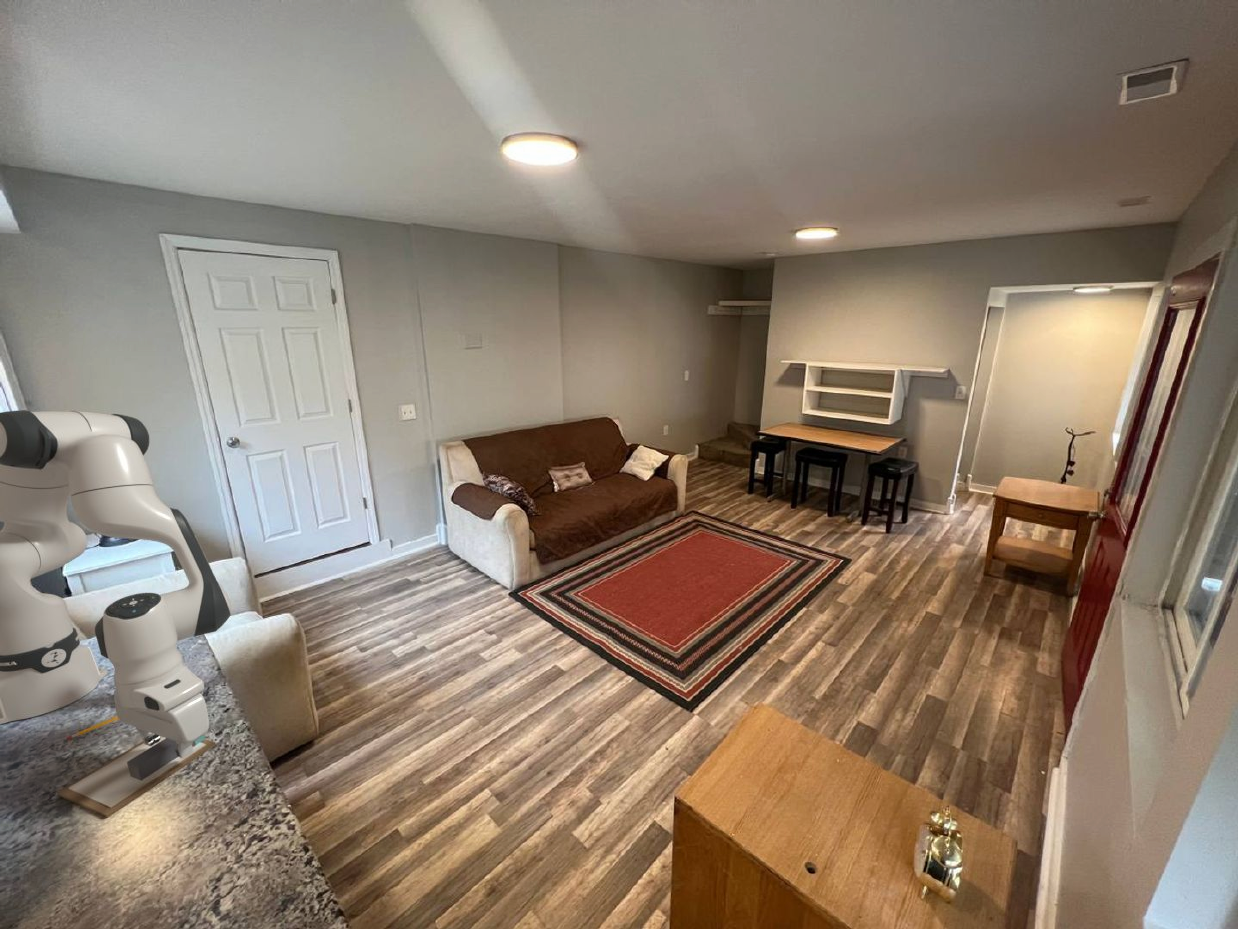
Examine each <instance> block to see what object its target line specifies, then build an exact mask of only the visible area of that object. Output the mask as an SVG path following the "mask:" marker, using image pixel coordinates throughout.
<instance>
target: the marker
mask: <svg viewBox="0 0 1238 929" xmlns="http://www.w3.org/2000/svg"><path fill="white" fill-rule="evenodd" d="M205 735H206V734H204V735H203V736H201V737H200V738H198V739H197V740H195V741H193V743H192V747H194V746H196V745H197V744H199V743H200V742H202V741H203V740H205V739H206V736H205ZM178 746H179V744H177V743H176V741H173V740H170V739H167V738H166V739H164V740H162V741H161V742H159V743H157V744H156V745H154V746H152V747H151V748H149V749H148V750H146V751H144V752H143V753H141V754H139V755H138V756H136V757H134V758H133V759H131V760H129V761H128V762H127V764H128V768H129V772H130V776H131V777H133V778H136V779H138V780H141V781H142V780H143V779H145V778H146V777H148V776H149V775H151V774H152V773H154V772H156V771H157V770H159V769H160V768H162V767H163V766H165V765H166V764H168V763H169V762H171V761H172V760H174V759H176V758H177V757H178V756H177V753H176V750H175V749H177V748H178Z"/></svg>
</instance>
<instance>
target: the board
mask: <svg viewBox="0 0 1238 929" xmlns="http://www.w3.org/2000/svg"><path fill="white" fill-rule="evenodd" d="M164 739H166V738H165V737H162V736H160V741H159V742H161V741H162V740H164ZM159 742H157V743H159ZM157 743H155V744H154V745H156V744H157ZM154 745H152V746H154ZM152 746H149V745H145V744H144V741H143V740H142V741H141V742H140V743H138V744H136V745H135V746H133V747H130V749H128V750H126V751H124V752H122V753H121V754H119V755H117V756H116V757H114V758H113V759H111V760H109V761H108V762H106V763H104V764H102V765H100V766H99V767H97V768H96V769H94V770H92V771H90V772H89V773H87V774H85V775H84V776H81V777H80V778H79V779H76V780H75V781H74V782H73V781H72V783H70V784H68V785H66V786H65V787H63V788H62V789H60V790H58V791H56V793H57V795H58V796H59V797H61V798H64V799H66V800H68V801H71V802H72V803H74V804H76V805H79V806H80V807H83V808H84V809H86V810H89V811H91V812H94V813H95V814H98V815H100V816H101V817H104V818H106V819H108V818H109V817H112V815H114V814H115V813H117V812H118V811H120V810H121V809H123V808H124V807H126V806H127V805H129V804H131V802H133V801H135V800H136V799H138V798H140V796H142V795H144V794H145V793H147V792H148V791H150V790H151V789H152V788H154V787H156V786H157V785H158V784H160V783H162V782H163V781H165V780H166V779H167V778H169V777H170V776H172V775H173V774H175V773H176V772H178V771H179V770H181V769H182V768H184V767H186V766H187V765H188V764H190V763H191V762H193V761H194V760H196V759H197V758H199V757H200V756H202V755H203V754H205V753H206V752H209V751H210V749H212V748H214V747H215V746H216V742H215V741H212V740H209V739H206V738H205V740H203V741H202V742H200V743H199V744H197V745H196V746H194V747H193V752H192V754H190V755H189V756H187V757H186V758H180V757H177V758H176V759H174V760H172V761H171V762H169V763H168V764H166V765H165V766H163V767H162V768H160V769H159V770H157V771H156V772H154V773H152V774H151V775H149V776H148V777H146V778H145V779H143V780H142V781H141V780H138V779H136V778H133V777H131V776H130V772H129V768H128V764H127V762H128V761H129V760H131V759H133V758H134V757H136V756H138V755H139V754H141V753H143V752H144V751H146V750H148V749H149V748H151V747H152Z"/></svg>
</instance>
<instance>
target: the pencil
mask: <svg viewBox="0 0 1238 929" xmlns="http://www.w3.org/2000/svg"><path fill="white" fill-rule="evenodd" d="M117 720H120V719H119V718H118V716H117V715H116V716H115V717H112V718H110V719H108V720H105V721H103V722H101V723H98V724H96V725H93V726H91V727H90V726H89V727H87V728H86V729H83V730H81V731H79V732H76V733H74V734H71V735H69V736H66V741H69V740H72V739H74V738H77V737H79V736H81V735H84V734H85V733H86V734H87V733H89V732H91V731H94V730H95V729H98V728H100V727H103V726H105V725H108V724H110V723H112V722H114V721H117Z"/></svg>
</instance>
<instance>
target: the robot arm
mask: <svg viewBox="0 0 1238 929" xmlns="http://www.w3.org/2000/svg"><path fill="white" fill-rule="evenodd" d="M148 431H149V430H147V426H145V424H143V422H142V421H140V419H138V418H136V417H133V416H128V415H124V414H117V413H112V414H108V413H101V412H93V411H83V410H82V411H80V410H70V411H64V410H63V411H62V410H60V411H59V410H58V411H57V410H56V411H55V410H51V411H50V410H48V411H47V410H45V411H44V410H43V411H30V410H25V409H24V410H23V409H21V410H10V411H2V412H0V522H2V523H3V527H2V529H1V530H0V725H3V724H6V723H9V722H13V721H19V720H25V719H31V718H35V717H38V716H42V715H44V714H47V713H51V712H52V711H53V712H54V711H55V710H58V709H61V708H63V707H65V706H68V705H70V704H72V703H74V702H77V701H78V700H79V699H81V698H84V696H86V695H88V694H89V693H90V692H92V691H93V690H94V689H96V687H98V685H99V683H100V681H101V680H102V679H103V678H104V677H105V676H108V674H109V671H108V669H107V668H104V667H102V668H101V667H98V665H97V662H96V659H95V656H94V654H93V652H92V649H91V647H90V646H86V645H82V644H81V641H80V639H79V638H80V636H79V633H78V632H77V629H76V628H75V627H73V624H72V621H71V617H70V613H69V610H68V605H67V602H66V600H65V599H64V598H62V597H60V596H58V595H56V594H51V593H42V592H37V591H36V590H35V588H34V587H33V585H32V583H31V579H34V578H36V577H39V576H41V575H44V574H47V573H50V572H52V571H55V570H57V569H60V568H61V567H63V566H66V565H67V564H69V563H70V562H72V561H74V560H76V559H77V558H78V557H80V556H81V555H83V554H84V553H85V552H86V550H87V547H88V537H87V535H86V533H85V531H84V529H83V528H81V527H80V526H79V525H78V524H76V523H74V522H72V521H69V519H68V518H69V517H68V515H67V513H68V512H67V508H68V504H69V500H70V502H71V504H72V508H73V511H74V514H75V517H76V518H77V521H78V522H79V524H80V525H81V526H82V527H84V528H85V529H87V530H88V531H89V532H92V533H95V534H97V535H100V536H104V537H110V538H116V539H117V538H119V539H128V540H141V541H143V540H144V541H152V542H157V543H160V544H164V545H165V546H168V547H169V548H171V550H172V551H173V552H174V553H175V555H176V557H177V560H178V562H179V564H180V566H181V568H182V570H183V572H184V574H185V576H186V578H187V581H188V585H187V586H185V587H184V588H181V589H178V590H173V591H170V592H166V593H162V594H158V593H155V592H140V593H135V594H131V595H130V594H129V595H127V596H124V597H122V598H120V599H117V600H115V601H113V602H112V603H111V604H109V605H108V606H107V607H105V609H104V610H103V616H101V618H100V619H99V620H97V623H96V624H95V627H94V633H95V634H94V635H95V637H96V641H97V644H98V648H99V652H100V656H102V657H104V658H105V659H108V661H109V662H110V663H111V664H112V666H113V668H114V672H113V682H114V685H115V690H114V693H113V698H114V707H115V711H116V717H117V716H118V718H119V719H118V720H119V721H120V722H121V723H124V724H126V725H129V726H131V727H134V728H135V729H136V731H137V732H138V734H139V735H140V737H141V738H142V742H143V741H144V744H145V745H149V746H152V745H154V744H155V743H157V742H159V741H160V736H162V737H165V738H167V739H170V740H173V741H176V743H177V744H179V746H178V748H177V749H175V750H176V753H177V756H178V757H180V758H186V757H187V756H189V755H190V754H192V752H193V747H192V743H193V741H195V740H197V739H198V738H200V737H201V736H203V735H206V734H207V732H208V731H209V729H210V720H209V719H210V718H209V713H208V708H207V702H206V700H205V698H204V696H203V694H202V693H201V692H203V691H204V690H205V683H204V680H202V679H201V678H199V677H198V676H197V675H195V674H194V673H193V672H192V670H190V669H189V667H188V666H187V665H186V664H185V663H184V660H183V655H182V653H181V652H180V651H179V650H178V646H177V644H178V641H181V640H185V639H187V638H192V637H198V636H203V635H207V634H212V633H215V632H217V631H218V630H219V629H220V628H222V627H223V625H224V624H225V623H226V622H227V621H228V620H229V618H230V616H231V614H232V613H231V612H232V604H231V600H230V598H229V596H228V594H227V592H226V591H225V589H224V588H223V586H222V585H221V584H220V583H219V582H218V581H217V578H216V576H215V574H214V571H213V569H212V567H211V565H210V562H209V561H208V559H207V557H206V554H205V552H204V551H203V548H202V547H201V544H200V543H199V540H198V538H197V536H196V534H195V533H194V531H193V529H192V526H191V525H190V523H189V521H188V520H187V518H186V516H185V515H184V514H183V513H182V512H181V511H180V510H179V509H177V508H173V507H168V506H167V505H166V504H165V503H164V502H163V501H162V500H161V499H160V497H159V496H158V495H157V492H156V490H155V486H154V482H153V477H152V474H151V471H150V468H149V466H148V463H147V461H146V459H145V456H144V455H145V454H146V453H147V451H148V449H149V446H150V433H149V432H148Z"/></svg>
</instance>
